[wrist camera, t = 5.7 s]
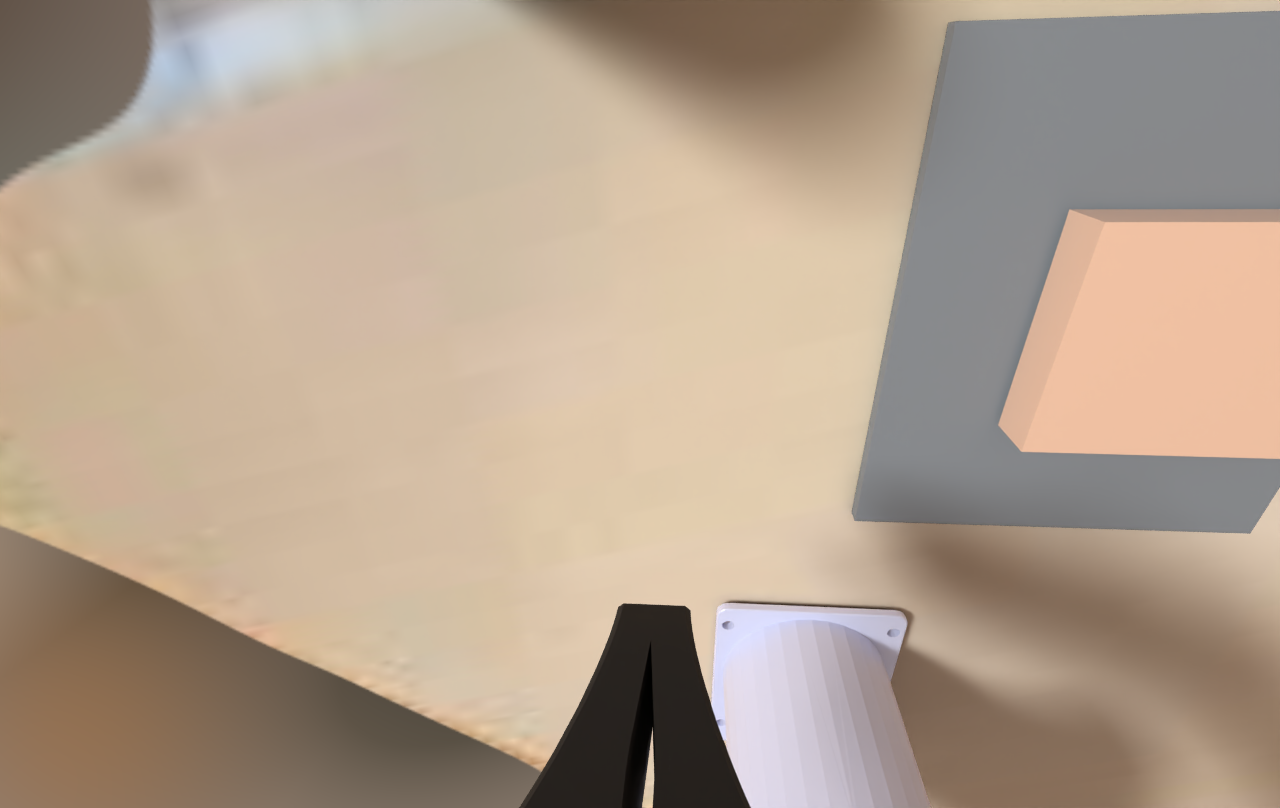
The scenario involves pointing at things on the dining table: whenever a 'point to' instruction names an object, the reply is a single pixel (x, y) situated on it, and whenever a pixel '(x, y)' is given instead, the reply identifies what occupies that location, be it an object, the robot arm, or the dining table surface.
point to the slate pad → (1026, 244)
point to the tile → (1155, 337)
